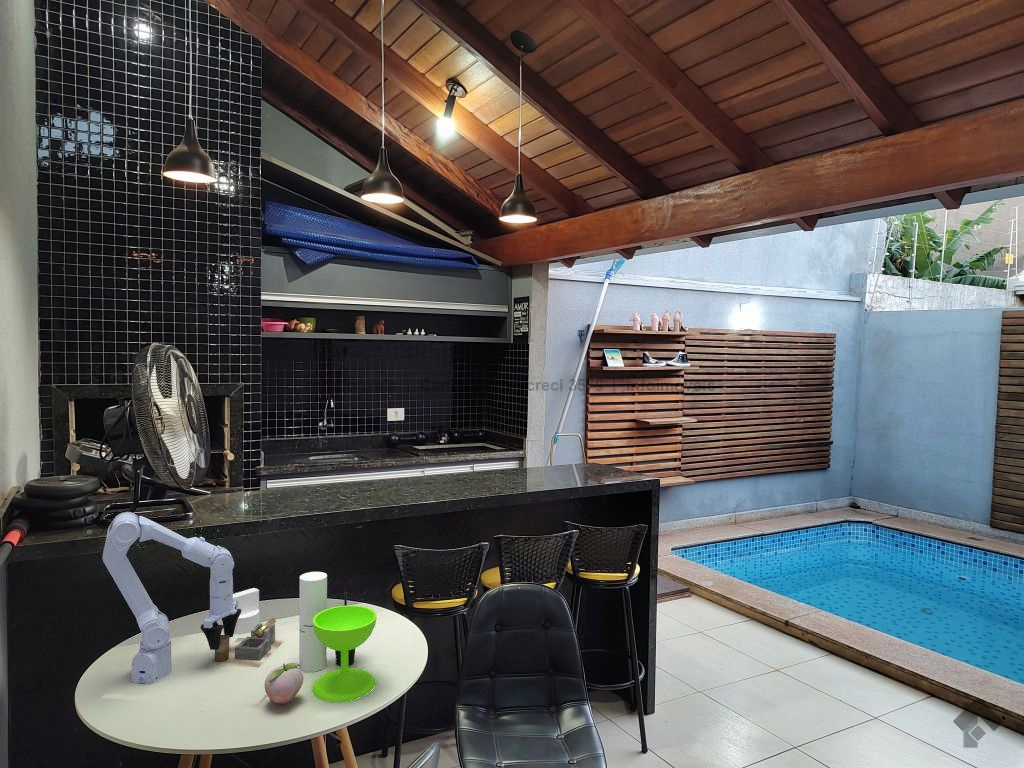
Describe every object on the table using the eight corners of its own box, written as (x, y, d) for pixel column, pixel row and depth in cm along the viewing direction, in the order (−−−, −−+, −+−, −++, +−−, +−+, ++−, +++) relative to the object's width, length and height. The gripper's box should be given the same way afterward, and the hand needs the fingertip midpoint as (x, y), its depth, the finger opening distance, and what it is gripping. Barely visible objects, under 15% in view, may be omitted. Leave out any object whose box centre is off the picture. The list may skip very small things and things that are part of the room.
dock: (258, 671, 176) (258, 648, 176) (208, 668, 177) (208, 645, 177) (284, 644, 192) (284, 623, 192) (238, 641, 193) (238, 621, 193)
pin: (262, 637, 186) (262, 630, 186) (255, 636, 187) (255, 630, 187) (276, 624, 195) (276, 617, 195) (269, 624, 195) (269, 617, 195)
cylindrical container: (318, 673, 176) (319, 581, 174) (294, 670, 177) (294, 579, 176) (331, 661, 183) (331, 573, 181) (307, 658, 184) (308, 570, 183)
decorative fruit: (282, 690, 167) (282, 652, 166) (308, 697, 164) (309, 658, 163) (255, 709, 158) (255, 668, 158) (283, 716, 155) (283, 675, 155)
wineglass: (358, 664, 181) (359, 600, 180) (387, 688, 169) (387, 620, 168) (302, 682, 171) (302, 614, 170) (328, 709, 159) (328, 636, 158)
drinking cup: (324, 664, 181) (325, 593, 179) (344, 653, 187) (344, 584, 186) (346, 671, 177) (346, 599, 176) (365, 660, 184) (365, 590, 183)
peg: (226, 662, 178) (226, 640, 178) (212, 661, 178) (213, 640, 178) (230, 655, 182) (231, 634, 182) (217, 655, 182) (217, 634, 181)
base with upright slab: (237, 640, 194) (237, 600, 193) (221, 632, 199) (221, 593, 199) (265, 630, 201) (265, 592, 201) (248, 622, 207) (249, 585, 206)
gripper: (221, 605, 171) (221, 656, 172) (248, 585, 186) (248, 632, 187) (195, 603, 172) (196, 654, 173) (224, 584, 186) (225, 630, 187)
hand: (221, 642), depth 180 cm, fingers open, 7 cm apart
